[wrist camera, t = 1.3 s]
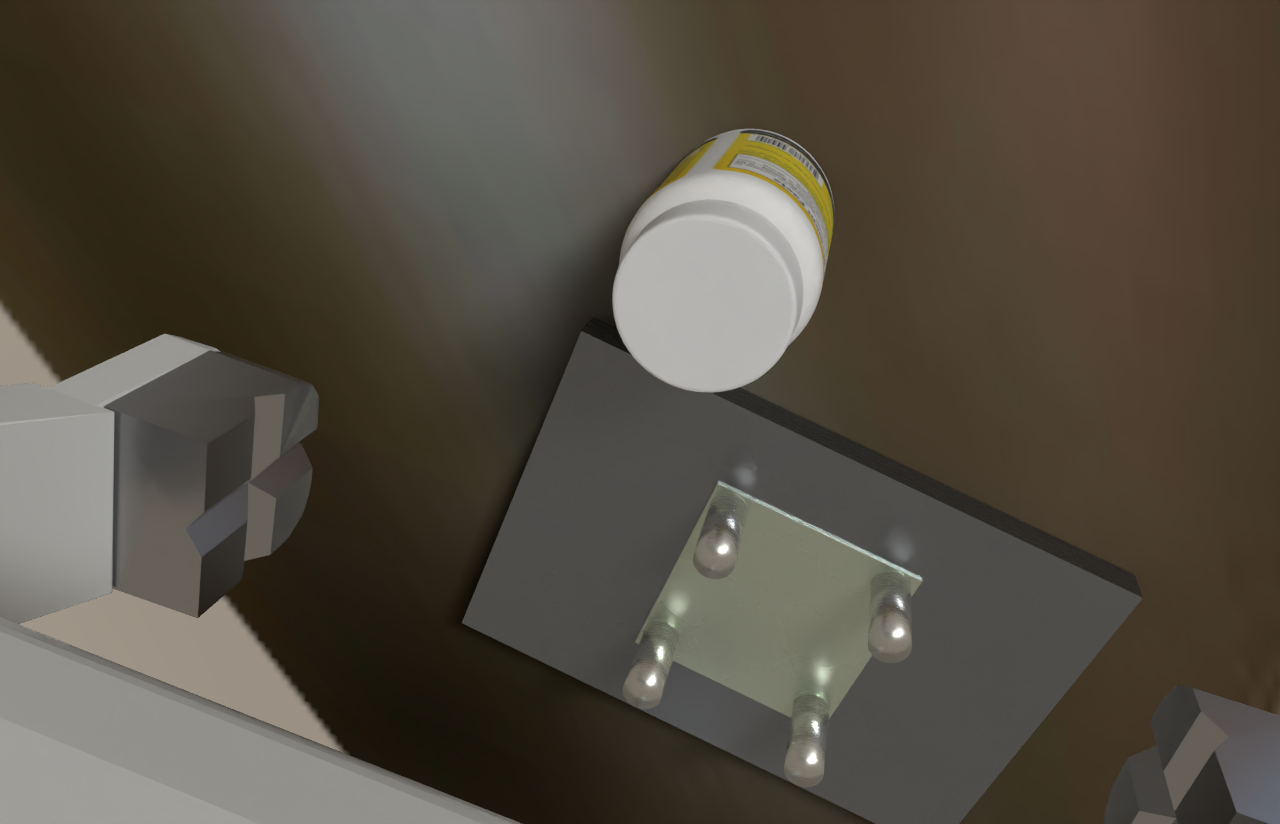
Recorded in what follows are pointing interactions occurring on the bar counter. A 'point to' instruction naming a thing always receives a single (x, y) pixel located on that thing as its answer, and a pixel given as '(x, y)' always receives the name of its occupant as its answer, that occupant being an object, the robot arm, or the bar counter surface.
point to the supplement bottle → (725, 261)
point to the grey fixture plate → (788, 591)
